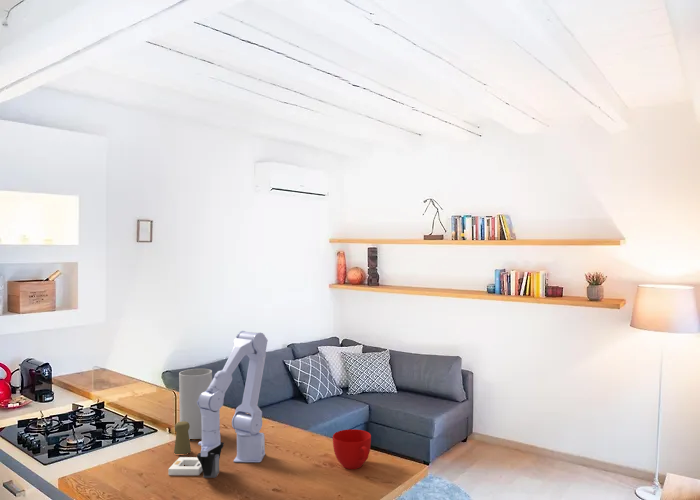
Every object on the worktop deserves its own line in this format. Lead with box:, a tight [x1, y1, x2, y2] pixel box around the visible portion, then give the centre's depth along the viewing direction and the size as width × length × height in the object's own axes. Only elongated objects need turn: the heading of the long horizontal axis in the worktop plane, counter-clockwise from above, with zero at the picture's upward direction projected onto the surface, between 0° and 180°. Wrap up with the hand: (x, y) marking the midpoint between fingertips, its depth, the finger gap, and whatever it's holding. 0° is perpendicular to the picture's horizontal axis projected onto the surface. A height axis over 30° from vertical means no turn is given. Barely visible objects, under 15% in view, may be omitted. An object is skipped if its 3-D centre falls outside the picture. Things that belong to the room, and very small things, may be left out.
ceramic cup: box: [332, 428, 372, 470], centre depth 180 cm, size 13×17×10 cm
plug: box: [202, 453, 220, 479], centre depth 175 cm, size 4×4×7 cm
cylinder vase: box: [178, 368, 213, 440], centre depth 213 cm, size 12×12×25 cm
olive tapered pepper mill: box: [173, 421, 192, 455], centre depth 195 cm, size 6×6×11 cm
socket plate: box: [167, 456, 203, 476], centre depth 180 cm, size 10×10×2 cm
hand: (211, 470), depth 175 cm, fingers open, 7 cm apart
